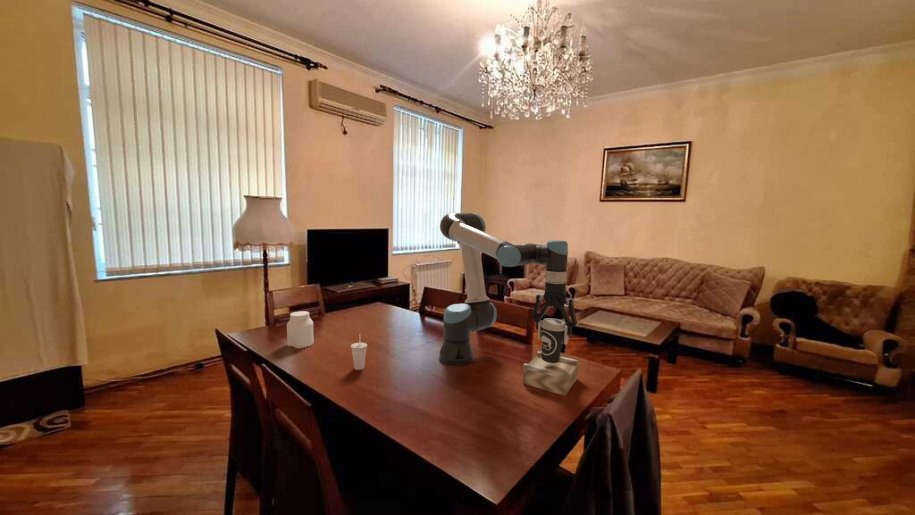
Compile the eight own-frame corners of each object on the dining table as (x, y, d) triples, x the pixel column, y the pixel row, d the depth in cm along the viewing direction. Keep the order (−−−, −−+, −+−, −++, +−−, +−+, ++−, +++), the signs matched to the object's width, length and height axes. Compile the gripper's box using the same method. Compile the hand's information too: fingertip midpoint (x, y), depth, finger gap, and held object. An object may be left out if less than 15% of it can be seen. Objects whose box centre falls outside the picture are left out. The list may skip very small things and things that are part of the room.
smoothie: (370, 366, 143) (370, 333, 141) (360, 372, 137) (359, 338, 135) (358, 363, 145) (358, 331, 144) (347, 369, 140) (347, 335, 138)
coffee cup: (564, 366, 127) (568, 327, 125) (537, 362, 129) (541, 323, 126) (562, 356, 136) (565, 319, 134) (537, 352, 138) (540, 316, 136)
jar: (317, 343, 167) (316, 313, 166) (299, 349, 159) (298, 317, 157) (301, 338, 173) (300, 309, 171) (283, 344, 165) (282, 314, 163)
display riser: (522, 383, 131) (523, 364, 130) (537, 368, 144) (538, 351, 143) (565, 395, 122) (566, 375, 121) (577, 378, 135) (578, 360, 135)
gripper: (523, 280, 131) (521, 337, 134) (583, 287, 120) (580, 350, 122) (531, 277, 138) (528, 332, 140) (588, 284, 126) (585, 343, 128)
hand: (552, 340), depth 131 cm, fingers closed on coffee cup, 9 cm apart
